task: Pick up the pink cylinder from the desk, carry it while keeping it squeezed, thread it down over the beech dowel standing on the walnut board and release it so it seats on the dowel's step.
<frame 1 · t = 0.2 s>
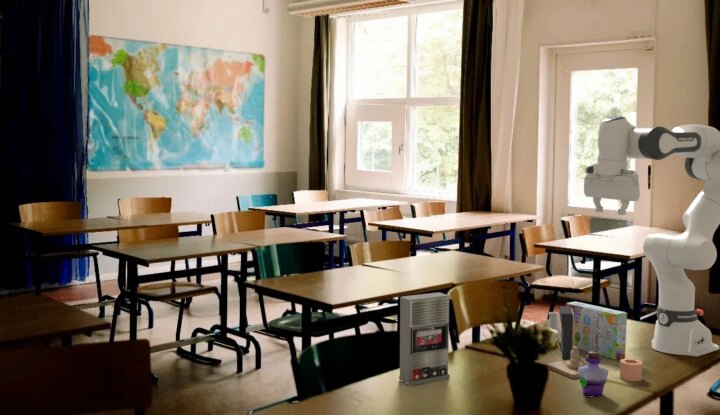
hand: (610, 213, 238), 47 cm above the table, tool pointing down, fingers open, 8 cm apart
snack box: (594, 352, 254), on the table
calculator: (566, 355, 250), on the table
flask: (552, 341, 267), on the table
pink cylinder: (630, 377, 227), on the table
cassette tape recorder: (424, 380, 225), on the table
stand: (574, 370, 234), on the table
potion bottle: (592, 394, 213), on the table
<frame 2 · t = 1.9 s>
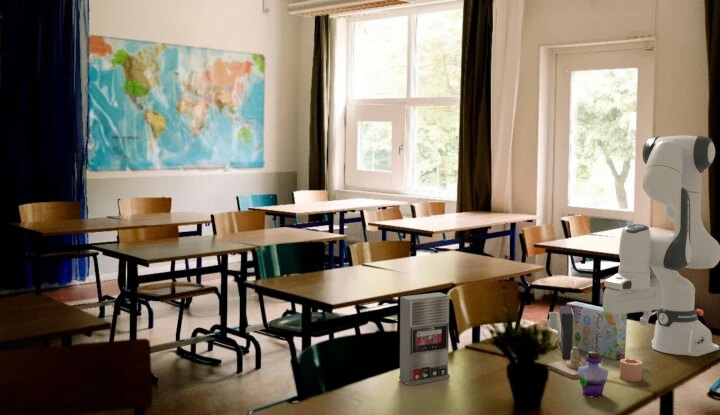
hand: (632, 326, 225), 16 cm above the table, tool pointing down, fingers open, 8 cm apart
nothing on the table moved.
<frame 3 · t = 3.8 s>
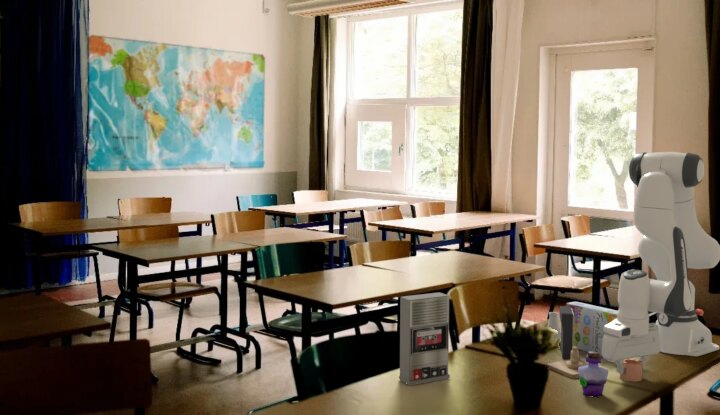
hand: (630, 371, 226), 2 cm above the table, tool pointing down, fingers closed on pink cylinder, 6 cm apart
pink cylinder: (630, 377, 227), on the table, touching gripper
everything else where it was.
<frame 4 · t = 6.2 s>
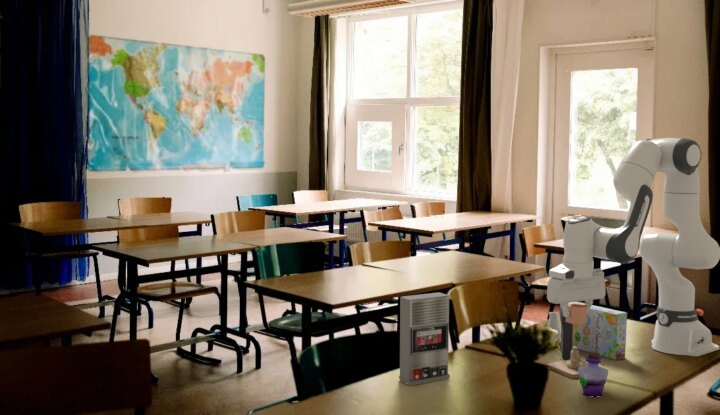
hand: (576, 315, 232), 17 cm above the table, tool pointing down, fingers closed on pink cylinder, 6 cm apart
pink cylinder: (576, 321, 232), point 15 cm above the table, touching gripper
everything else where it was.
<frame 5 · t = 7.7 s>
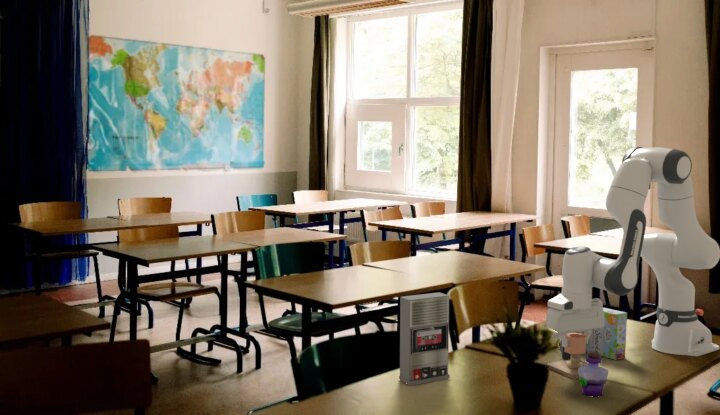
hand: (574, 345, 233), 8 cm above the table, tool pointing down, fingers closed on pink cylinder, 6 cm apart
pink cylinder: (574, 351, 233), point 6 cm above the table, touching gripper
everything else where it was.
when the fingers open (5 cm above the table, at t = 8.8 s): pink cylinder stays where it is, resting on stand.
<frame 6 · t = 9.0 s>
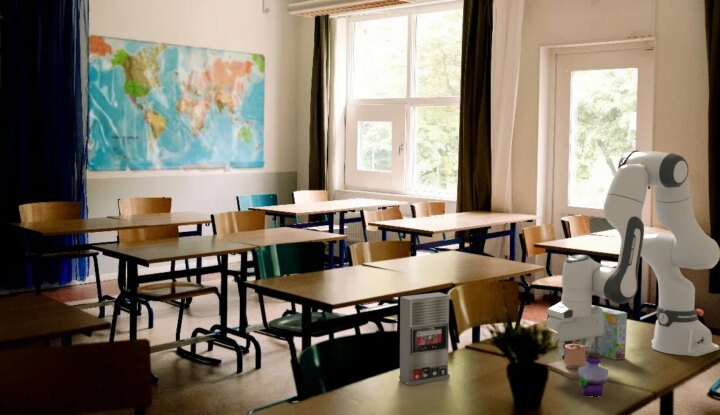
hand: (574, 353, 233), 5 cm above the table, tool pointing down, fingers open, 8 cm apart
pink cylinder: (574, 362, 234), point 2 cm above the table, touching stand
everything else where it was.
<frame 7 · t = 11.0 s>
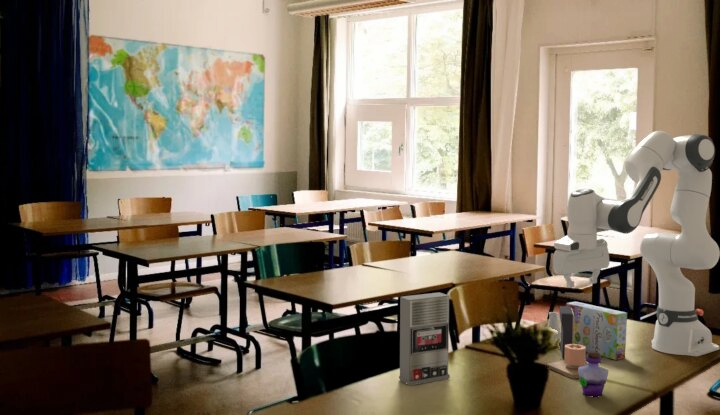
hand: (581, 285, 240), 25 cm above the table, tool pointing down, fingers open, 8 cm apart
nothing on the table moved.
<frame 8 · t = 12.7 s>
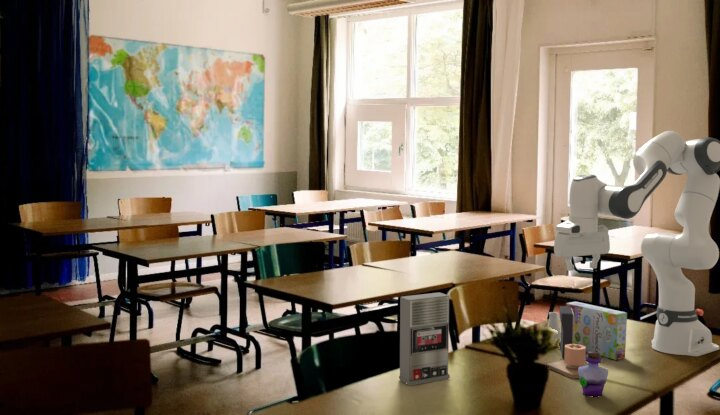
hand: (581, 269, 243), 29 cm above the table, tool pointing down, fingers open, 8 cm apart
nothing on the table moved.
at the end: pink cylinder 0.0 cm from the stand (horizontally); pink cylinder point 2.4 cm above the table; the gripper is holding nothing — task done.
